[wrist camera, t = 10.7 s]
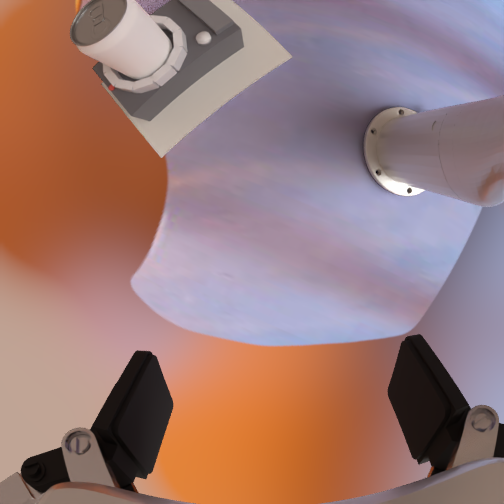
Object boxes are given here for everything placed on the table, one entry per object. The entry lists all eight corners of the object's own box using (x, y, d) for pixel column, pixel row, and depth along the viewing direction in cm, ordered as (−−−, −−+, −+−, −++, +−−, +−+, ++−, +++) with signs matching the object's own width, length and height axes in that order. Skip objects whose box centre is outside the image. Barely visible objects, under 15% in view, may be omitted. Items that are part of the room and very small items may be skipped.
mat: (219, -9, 26) (218, -10, 26) (292, 57, 30) (292, 56, 29) (102, 84, 31) (101, 83, 30) (161, 157, 35) (160, 157, 34)
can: (131, 90, 26) (71, 65, 14) (118, 51, 24) (62, 18, 13) (181, 63, 25) (139, 20, 14) (164, 25, 23) (123, -23, 12)
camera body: (200, 7, 27) (187, -21, 19) (244, 47, 29) (239, 20, 21) (113, 77, 30) (84, 64, 23) (150, 121, 33) (123, 113, 25)
